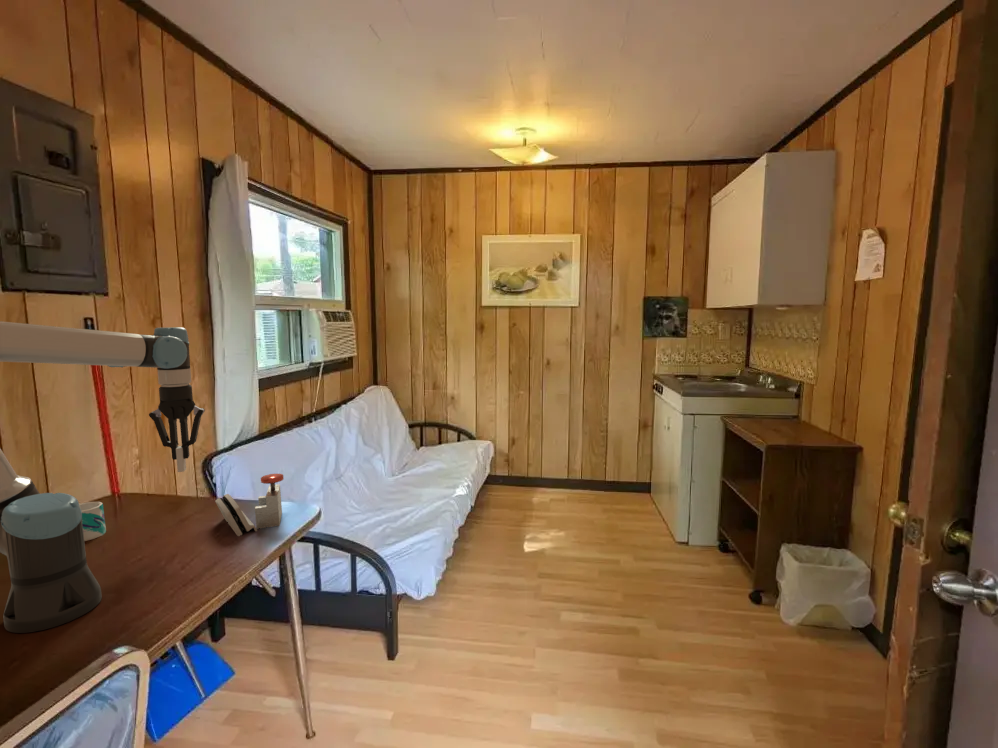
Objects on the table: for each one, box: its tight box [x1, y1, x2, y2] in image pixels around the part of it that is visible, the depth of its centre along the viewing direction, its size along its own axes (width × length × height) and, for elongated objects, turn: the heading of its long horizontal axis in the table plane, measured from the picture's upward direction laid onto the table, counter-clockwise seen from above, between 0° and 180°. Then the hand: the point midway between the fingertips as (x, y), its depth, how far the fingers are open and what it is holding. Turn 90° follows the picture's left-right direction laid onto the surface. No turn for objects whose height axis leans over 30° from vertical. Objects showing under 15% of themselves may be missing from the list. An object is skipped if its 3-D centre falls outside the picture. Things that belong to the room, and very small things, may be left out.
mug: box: [79, 501, 107, 542], centre depth 142 cm, size 8×12×8 cm
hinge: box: [214, 493, 258, 537], centre depth 145 cm, size 17×5×10 cm, turn 40°
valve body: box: [254, 473, 284, 530], centre depth 148 cm, size 10×8×13 cm
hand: (181, 470), depth 140 cm, fingers closed
